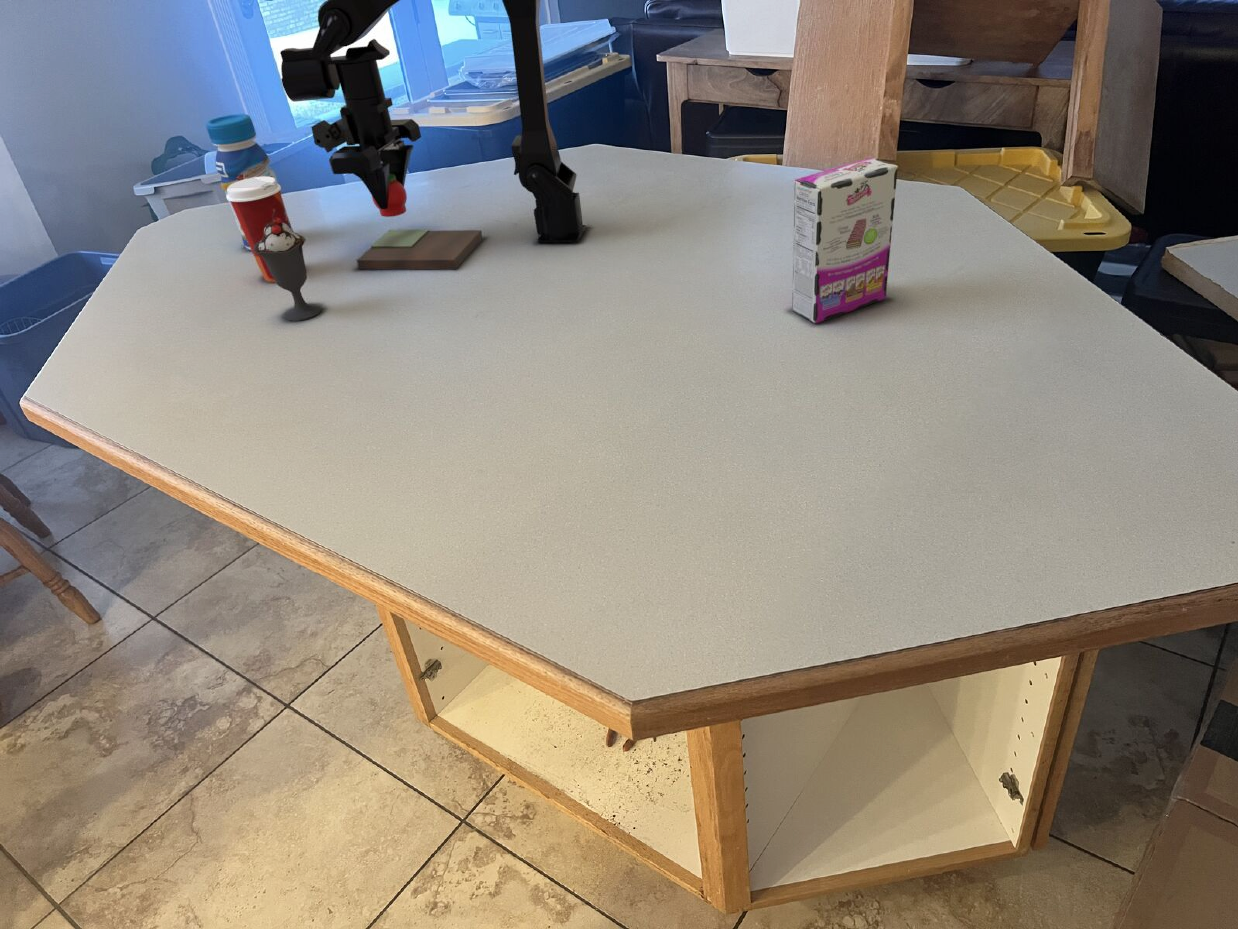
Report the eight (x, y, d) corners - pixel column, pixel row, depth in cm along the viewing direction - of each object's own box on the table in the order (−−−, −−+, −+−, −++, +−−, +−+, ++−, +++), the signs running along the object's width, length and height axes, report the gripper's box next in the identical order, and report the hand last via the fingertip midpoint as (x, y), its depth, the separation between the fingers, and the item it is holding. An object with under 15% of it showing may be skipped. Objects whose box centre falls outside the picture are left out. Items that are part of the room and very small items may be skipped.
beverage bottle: (292, 230, 144) (252, 108, 132) (299, 244, 137) (258, 118, 125) (242, 241, 141) (197, 118, 129) (247, 256, 135) (199, 129, 123)
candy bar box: (859, 286, 105) (871, 155, 96) (886, 300, 102) (901, 164, 92) (788, 310, 102) (793, 176, 92) (814, 325, 98) (821, 187, 88)
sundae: (313, 324, 111) (276, 215, 102) (269, 323, 112) (229, 215, 104) (336, 302, 116) (303, 197, 107) (294, 302, 118) (257, 198, 109)
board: (483, 238, 132) (481, 228, 131) (456, 269, 122) (453, 258, 121) (391, 239, 135) (389, 229, 134) (358, 269, 126) (355, 258, 125)
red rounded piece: (415, 206, 130) (407, 170, 126) (401, 218, 126) (392, 181, 122) (385, 206, 131) (376, 171, 128) (371, 218, 127) (361, 182, 123)
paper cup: (318, 266, 128) (289, 176, 120) (283, 287, 123) (250, 193, 114) (281, 262, 131) (250, 173, 123) (245, 282, 126) (210, 190, 117)
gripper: (344, 83, 127) (371, 184, 136) (280, 114, 113) (315, 225, 122) (410, 79, 125) (433, 182, 134) (353, 110, 110) (383, 224, 119)
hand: (391, 202), depth 127 cm, fingers closed on red rounded piece, 5 cm apart
